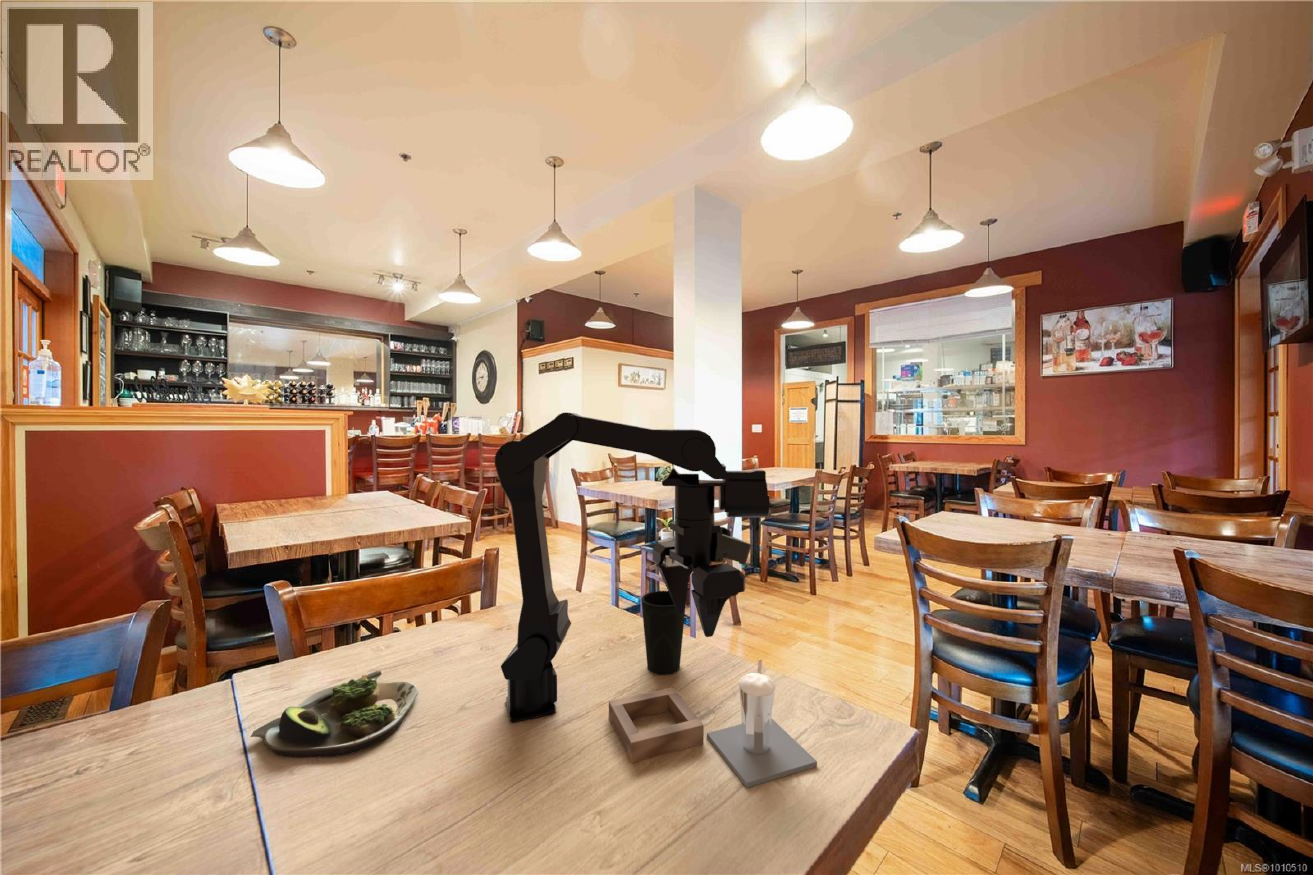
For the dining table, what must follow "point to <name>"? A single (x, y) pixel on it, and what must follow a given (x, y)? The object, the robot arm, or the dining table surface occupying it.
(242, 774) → the dining table surface
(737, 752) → the mat
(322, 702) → the salad plate
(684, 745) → the collar
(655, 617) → the cup
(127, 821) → the dining table surface
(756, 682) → the milkshake
